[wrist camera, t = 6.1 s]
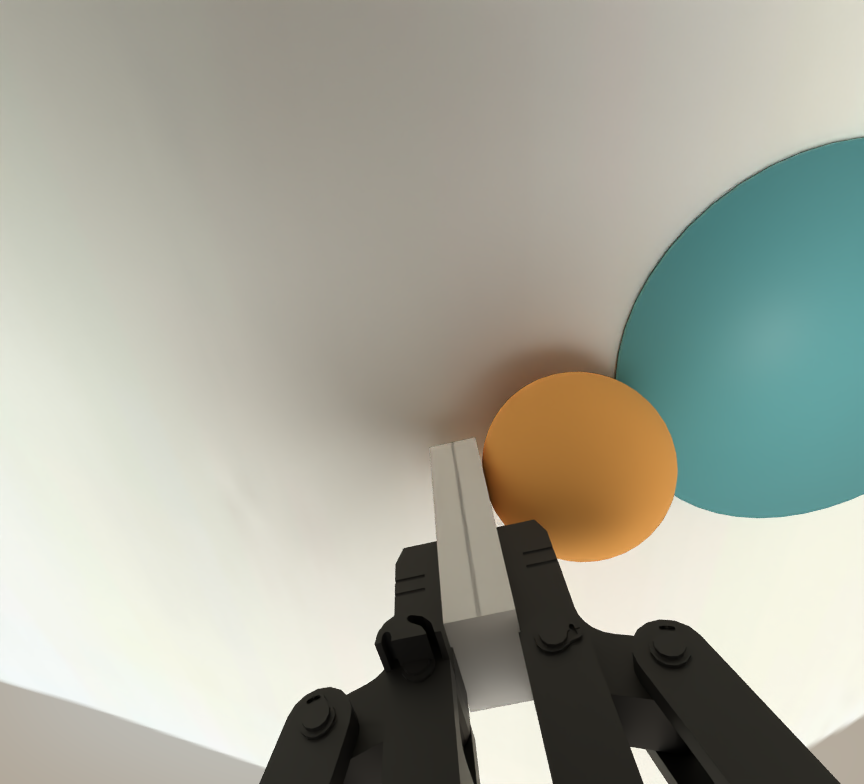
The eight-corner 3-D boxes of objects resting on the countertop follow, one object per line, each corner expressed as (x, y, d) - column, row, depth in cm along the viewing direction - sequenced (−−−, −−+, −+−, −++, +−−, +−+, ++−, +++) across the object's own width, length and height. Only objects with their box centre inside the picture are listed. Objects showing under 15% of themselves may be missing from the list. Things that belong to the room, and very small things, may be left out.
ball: (416, 483, 15) (592, 565, 12) (502, 323, 17) (685, 352, 13) (501, 540, 19) (654, 615, 15) (566, 407, 20) (722, 447, 17)
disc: (535, 350, 17) (537, 353, 17) (937, 18, 14) (943, 17, 14) (736, 568, 22) (739, 572, 22) (1079, 360, 18) (1086, 362, 18)
